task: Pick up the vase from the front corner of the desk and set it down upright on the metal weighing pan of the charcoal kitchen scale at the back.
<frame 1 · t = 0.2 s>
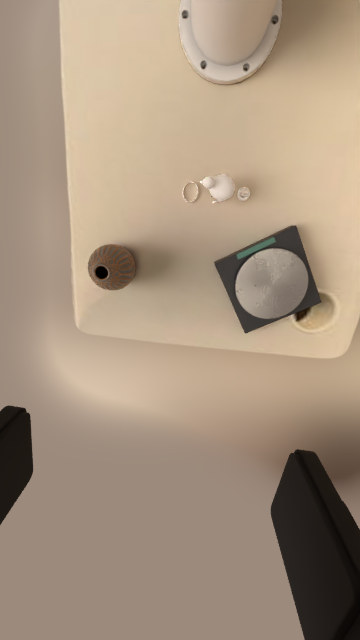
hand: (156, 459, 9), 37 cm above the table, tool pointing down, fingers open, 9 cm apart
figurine: (216, 191, 40), on the table
vase: (119, 264, 44), on the table
scale pan: (270, 284, 41), point 3 cm above the table, slide at 0.1 cm
scale: (265, 281, 44), on the table
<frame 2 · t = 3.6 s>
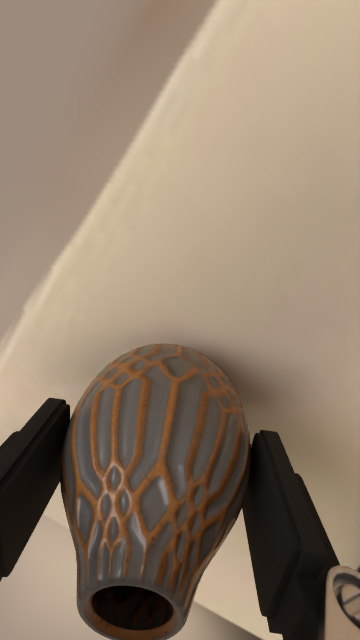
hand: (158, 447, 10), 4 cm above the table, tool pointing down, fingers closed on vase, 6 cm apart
vase: (168, 383, 14), on the table, touching gripper
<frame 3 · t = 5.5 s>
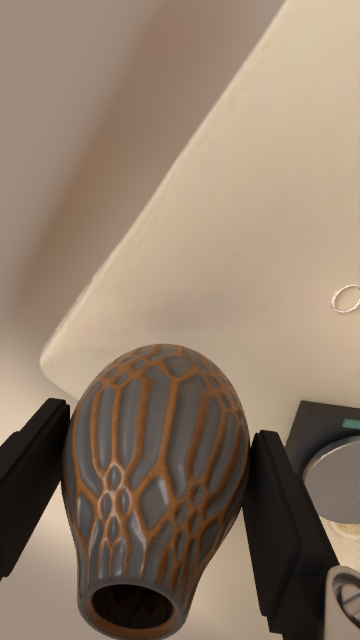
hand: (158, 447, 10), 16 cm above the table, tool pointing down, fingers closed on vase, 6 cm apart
vase: (168, 383, 14), point 11 cm above the table, touching gripper
scale pan: (358, 481, 26), point 3 cm above the table, slide at 0.1 cm
scale: (341, 457, 29), on the table
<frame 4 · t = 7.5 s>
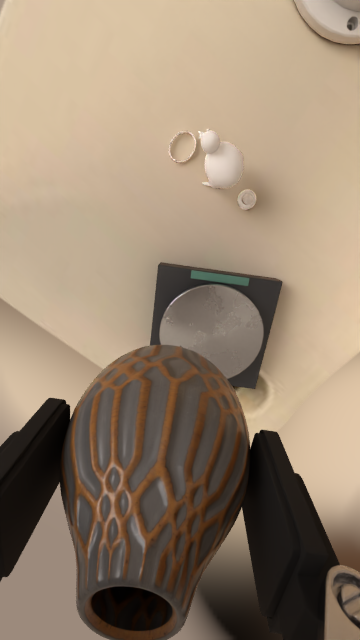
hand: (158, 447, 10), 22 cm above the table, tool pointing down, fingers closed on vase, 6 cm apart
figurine: (215, 172, 26), on the table
vase: (168, 384, 14), point 17 cm above the table, touching gripper
scale pan: (210, 334, 28), point 3 cm above the table, slide at 0.1 cm
scale: (209, 325, 31), on the table
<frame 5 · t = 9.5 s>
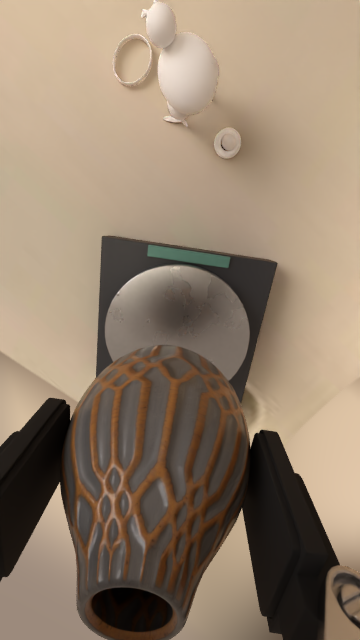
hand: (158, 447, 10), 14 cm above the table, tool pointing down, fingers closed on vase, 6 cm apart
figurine: (182, 102, 18), on the table
vase: (168, 384, 14), point 10 cm above the table, touching gripper
scale pan: (176, 336, 20), point 3 cm above the table, slide at 0.1 cm
scale: (178, 323, 23), on the table
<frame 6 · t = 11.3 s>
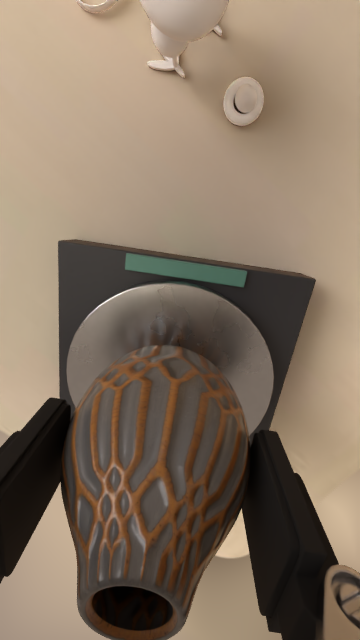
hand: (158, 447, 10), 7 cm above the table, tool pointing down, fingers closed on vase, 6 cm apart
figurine: (176, 39, 12), on the table
vase: (168, 384, 14), point 3 cm above the table, touching gripper, scale pan
scale pan: (168, 382, 14), point 3 cm above the table, slide at -0.1 cm, touching vase
scale: (172, 358, 17), on the table
when the fingers open (7 cm above the table, at t = 11.5 s): vase stays where it is, resting on scale pan.
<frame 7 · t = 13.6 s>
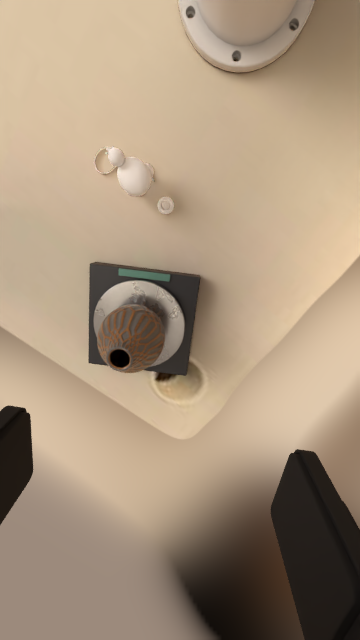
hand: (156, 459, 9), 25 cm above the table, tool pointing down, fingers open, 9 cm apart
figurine: (137, 182, 30), on the table
vase: (139, 326, 31), point 3 cm above the table, touching scale pan
scale pan: (139, 325, 32), point 3 cm above the table, slide at -0.1 cm, touching vase
scale: (143, 318, 34), on the table
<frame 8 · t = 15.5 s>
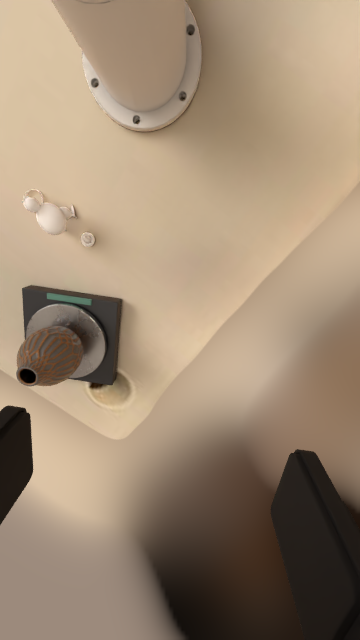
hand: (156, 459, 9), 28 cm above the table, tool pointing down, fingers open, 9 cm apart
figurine: (62, 218, 34), on the table
vase: (66, 342, 36), point 3 cm above the table, touching scale pan
scale pan: (66, 342, 36), point 3 cm above the table, slide at -0.1 cm, touching vase
scale: (75, 334, 39), on the table
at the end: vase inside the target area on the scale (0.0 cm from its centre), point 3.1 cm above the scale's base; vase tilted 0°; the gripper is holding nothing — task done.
